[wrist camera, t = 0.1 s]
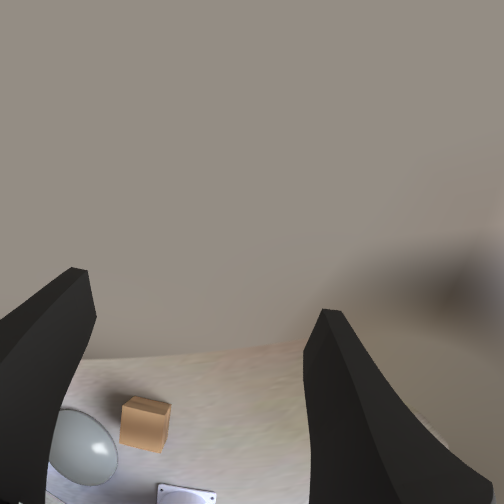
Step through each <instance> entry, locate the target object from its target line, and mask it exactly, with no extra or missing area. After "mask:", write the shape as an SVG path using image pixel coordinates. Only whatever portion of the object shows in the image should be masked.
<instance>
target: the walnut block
mask: <svg viewBox="0 0 504 504" xmlns="http://www.w3.org/2000/svg"><path fill="white" fill-rule="evenodd" d="M170 411H171V404H168V403H163V402H158V401H154V400H149V399H145V398H141V397H137V396H134V397H133V398H131V399H130V400H129V401H128V402H126V403H125V404H124V405H123V406H122V416H121V427H120V439H119V443H120V444H124V445H127V446H131V447H135V448H139V449H143V450H147V451H152V452H156V453H161V451H162V449H163V447H164V444H165V442H166V440H167V436H168V427H169V419H170Z"/></svg>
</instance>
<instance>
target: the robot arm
mask: <svg viewBox="0 0 504 504" xmlns="http://www.w3.org/2000/svg"><path fill="white" fill-rule="evenodd" d="M96 318H97V316H96V311H95V306H94V302H93V297H92V292H91V287H90V281H89V276H88V271H87V270H82V269H78V268H73V267H71V268H69V269H68V270H66V271H65V272H63V273H62V274H61V275H59V276H58V277H57V278H56V279H54V280H53V281H51V282H50V283H49V284H47V285H46V286H45V287H43V288H42V289H41V290H39V291H38V292H37V293H36V294H34V295H33V296H32V297H30V298H29V299H28V300H26V301H25V302H24V303H23V304H21V305H20V306H19V307H17V308H16V309H15V310H13V311H12V312H10V313H9V314H8V315H6V316H5V317H4V318H2V319H1V320H0V504H19V502H20V503H22V504H45V495H46V478H47V469H48V462H49V455H50V449H51V444H52V439H53V434H54V430H55V426H56V422H57V418H58V414H59V411H60V408H61V405H62V402H63V399H64V397H65V394H66V392H67V390H68V387H69V385H70V383H71V380H72V378H73V376H74V374H75V371H76V369H77V367H78V365H79V362H80V360H81V358H82V356H83V354H84V351H85V349H86V347H87V345H88V342H89V339H90V336H91V333H92V330H93V327H94V324H95V321H96ZM303 382H304V391H305V399H306V408H307V416H308V425H309V434H310V446H311V476H310V495H309V504H497V503H496V498H495V493H494V489H493V485H492V482H490V481H489V480H487V479H486V478H485V477H483V476H482V475H480V474H479V473H477V472H476V471H474V470H473V469H472V468H470V467H468V466H467V465H466V464H465V463H464V462H462V461H461V460H460V459H459V458H458V457H456V456H455V455H454V454H452V453H451V452H450V451H449V450H448V449H447V448H446V447H445V446H444V445H443V444H442V443H440V442H439V441H438V440H437V439H436V438H435V437H434V436H433V435H432V434H431V433H430V432H429V431H428V430H427V429H426V428H425V427H424V425H423V424H422V423H421V422H420V421H419V420H418V419H417V418H416V417H415V415H414V414H413V413H412V412H411V411H410V410H409V408H408V407H407V406H406V405H405V404H404V403H403V401H402V400H401V399H400V398H399V396H398V395H397V394H396V392H395V391H394V390H393V388H392V387H391V386H390V384H389V383H388V381H387V380H386V379H385V377H384V376H383V374H382V373H381V372H380V370H379V369H378V367H377V366H376V364H375V363H374V361H373V360H372V358H371V357H370V355H369V354H368V352H367V351H366V349H365V348H364V346H363V345H362V343H361V341H360V340H359V338H358V337H357V335H356V333H355V332H354V330H353V329H352V327H351V326H350V324H349V322H348V321H347V319H346V318H345V316H344V315H343V313H342V312H341V311H338V310H330V309H322V311H321V313H320V315H319V318H318V320H317V322H316V324H315V327H314V329H313V331H312V333H311V336H310V338H309V340H308V342H307V344H306V346H305V349H304V351H303ZM160 489H163V490H160ZM211 497H213V499H211ZM215 501H216V493H215V492H209V491H201V490H195V489H188V488H182V487H177V486H171V485H166V484H159V486H158V494H157V504H215Z"/></svg>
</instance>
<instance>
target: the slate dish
mask: <svg viewBox="0 0 504 504" xmlns="http://www.w3.org/2000/svg"><path fill="white" fill-rule="evenodd" d="M49 462H50V463H51V464H52V466H53V467H54V468H55V469H56V470H57V471H58V472H59V473H60V474H61V475H63V476H64V477H65V478H67V479H69V480H70V481H72V482H75V483H77V484H80V485H85V486H96V485H100V484H103V483H105V482H106V481H108V480H109V479H110V478H111V477H112V475H113V474H114V472H115V470H116V468H117V464H118V454H117V449H116V446H115V443H114V441H113V439H112V437H111V436H110V434H109V433H108V431H107V430H106V429H105V428H104V427H103V426H102V425H101V424H100V423H99V422H98V421H97V420H96V419H94V418H93V417H91V416H89V415H87V414H86V413H83V412H81V411H77V410H71V409H66V410H61V411H59V414H58V418H57V422H56V426H55V430H54V434H53V439H52V444H51V449H50V455H49Z"/></svg>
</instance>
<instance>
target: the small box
mask: <svg viewBox="0 0 504 504" xmlns="http://www.w3.org/2000/svg"><path fill="white" fill-rule="evenodd" d="M19 504H22V503H20V502H19ZM45 504H65V503H64V502H62V501H61V500H59V499H58V498H56V497H55V496H53V495H52V494H50V493H49V492H48V491H46V495H45Z"/></svg>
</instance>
